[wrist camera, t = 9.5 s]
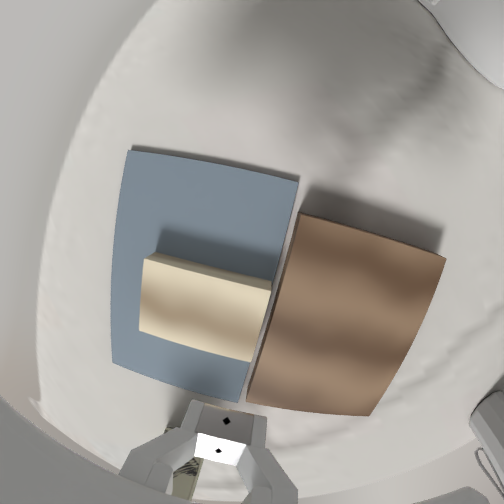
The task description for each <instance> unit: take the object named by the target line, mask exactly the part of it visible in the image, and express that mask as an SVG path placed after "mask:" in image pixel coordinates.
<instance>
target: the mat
mask: <svg viewBox="0 0 504 504" xmlns="http://www.w3.org/2000/svg"><path fill="white" fill-rule="evenodd" d="M298 183H299V182H295V181H291V180H287V179H283V178H279V177H275V176H271V175H267V174H263V173H258V172H254V171H249V170H245V169H240V168H235V167H230V166H226V165H220V164H215V163H210V162H205V161H199V160H193V159H188V158H182V157H175V156H169V155H162V154H155V153H148V152H140V151H132V150H128V152H127V157H126V162H125V167H124V172H123V178H122V183H121V189H120V196H119V202H118V209H117V217H116V225H115V235H114V245H113V258H112V275H111V345H112V362H113V363H115V364H117V365H119V366H122V367H124V368H127V369H129V370H132V371H134V372H137V373H139V374H142V375H145V376H147V377H150V378H153V379H156V380H159V381H162V382H164V383H167V384H171V385H174V386H177V387H180V388H183V389H186V390H190V391H193V392H197V393H200V394H204V395H208V396H211V397H215V398H219V399H223V400H227V401H232V402H236V403H238V400H239V397H240V393H241V390H242V387H243V384H244V380H245V377H246V374H247V371H248V367H249V364H250V362H247V361H242V360H238V359H234V358H230V357H226V356H222V355H218V354H214V353H210V352H207V351H203V350H199V349H196V348H192V347H189V346H185V345H182V344H179V343H175V342H172V341H169V340H166V339H163V338H160V337H157V336H154V335H151V334H148V333H145V332H142V331H139V317H140V299H141V285H142V274H143V263H144V258H146V257H147V256H149V255H151V254H153V253H154V252H158V253H161V254H165V255H169V256H173V257H177V258H180V259H184V260H188V261H192V262H196V263H200V264H204V265H208V266H212V267H216V268H220V269H224V270H228V271H232V272H236V273H240V274H244V275H248V276H252V277H257V278H261V279H265V280H269V281H272V283H271V287H272V284H273V280H274V276H275V273H276V269H277V265H278V261H279V258H280V254H281V250H282V246H283V242H284V239H285V235H286V231H287V227H288V223H289V219H290V215H291V211H292V207H293V203H294V199H295V195H296V191H297V187H298Z"/></svg>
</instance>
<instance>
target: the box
mask: <svg viewBox="0 0 504 504" xmlns="http://www.w3.org/2000/svg"><path fill="white" fill-rule="evenodd" d="M170 430H172V428H166V429H165V432H164V433H166V432H168V431H170ZM203 459H204V458H201V457H197V456H194V458H192V459H191V460H190V461H188V462H187V463H185V464H184V465H183V466H181V467H180V468H178V469H177V470H176V471H174V472H173V491H172V494H171V495H172V496H176V497H179V498H182V499H186V500H189V501H191V500H192V496H193V493H194V490H195V487H196V483H197V480H198V477H199V473H200V470H201V467H202V463H203Z"/></svg>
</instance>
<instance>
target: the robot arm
mask: <svg viewBox="0 0 504 504" xmlns="http://www.w3.org/2000/svg"><path fill="white" fill-rule="evenodd" d="M418 1H419V2H420V3H421V4H422V5H424V6H425V7H426V8H427V9H428V10H429V11H430V12H431V13H432V14H433V15H434V17H435V18H436V20H437V21H438V23H439V24H440V26H441V27H442V29H443V30H444V32H445V33H446V34H447V36H448V37H449V38H450V40H451V41H452V42H453V44H454V45H455V46H456V48H457V49H458V50H459V51H460V52H461V53H462V55H463V56H464V57H465V58H466V59H467V60H468V61H469V62H470V64H471V65H472V66H473V67H474V68H475V69H476V70H477V71H478V72H480V73H481V74H482V75H483V76H484V77H485V78H486V79H488V80H489V81H490V82H491V83H493V84H494V85H496V86H497V87H499V88H501V89H504V0H418ZM266 427H267V417H265V416H259V415H254V414H250V413H245V412H240V411H235V410H231V409H226V408H222V407H218V406H215V405H211V404H208V403H204V402H201V401H198V400H194V399H192V400H191V402H190V404H189V407H188V409H187V412H186V414H185V417H184V419H183V422H182V424H181V427H180V428H178V427H175V428H174V429H172V430H170V431H168V432H166V433H164V434H163V435H161V436H159V437H157V438H155V439H153V440H151V441H149V442H147V443H145V444H143V445H141V446H139V447H137V448H135V449H133V450H131V452H130V453H129V455H128V457H127V459H126V461H125V463H124V465H123V467H122V469H121V470H120V473H119V474H116V473H114V472H111V471H109V470H107V469H105V468H103V467H101V466H99V465H98V464H95V463H93V462H92V461H90V460H88V459H86V458H85V457H83V456H81V455H79V454H78V453H76V452H74V451H73V450H71V449H69V448H68V447H66V446H65V445H63V444H61V443H60V442H59V441H57V440H56V439H54V438H52V437H51V436H50V435H48V434H47V433H46V432H44V431H43V430H41V429H40V428H39V427H37V426H36V425H35V424H33V423H32V422H31V421H30V420H28V419H27V418H26V417H24V416H23V415H22V414H21V413H20V412H18V411H17V410H16V409H15V408H14V407H13V406H11V405H10V404H9V403H8V402H7V401H6V400H5V399H4V398H3V397H1V396H0V504H201V503H197V502H193V501H189V500H186V499H182V498H179V497H176V496H172V495H171V494H172V491H173V472H174V471H176V470H177V469H178V468H180V467H181V466H183V465H184V464H185V463H187V462H188V461H190V460H191V459H192V458H194V456H197V457H201V458H205V459H209V460H213V461H218V462H222V463H226V464H230V465H234V466H236V468H237V470H238V472H239V474H240V476H241V478H242V480H243V482H244V484H245V486H246V488H247V490H248V492H249V494H248V495H247V497H246V498H245V499H244V501H243V502H242V503H241V504H298V489H297V488H296V487H295V485H294V484H293V483H292V481H291V480H290V479H289V477H288V476H287V474H286V473H285V472H284V470H283V469H282V467H281V466H280V465H279V463H278V462H277V460H276V459H275V458H274V456H273V455H272V453H271V452H270V450H269V449H267V448H265V440H266ZM414 504H490V503H489V501H488V499H487V498H486V497H485V496H484V495H482V494H481V493H479V492H478V491H477V490H475V489H473V488H471V487H463V488H460V489H458V490H455V491H452V492H450V493H447V494H444V495H441V496H438V497H435V498H432V499H428V500H425V501H421V502H417V503H414Z"/></svg>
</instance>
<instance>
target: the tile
mask: <svg viewBox="0 0 504 504" xmlns="http://www.w3.org/2000/svg"><path fill="white" fill-rule="evenodd" d="M271 283H272V281H269V280H265V279H261V278H257V277H252V276H248V275H244V274H240V273H236V272H232V271H228V270H224V269H220V268H216V267H212V266H208V265H204V264H200V263H196V262H192V261H188V260H184V259H180V258H177V257H173V256H169V255H165V254H161V253H158V252H154V253H153V254H151V255H149V256H147V257H146V258H144V263H143V274H142V285H141V299H140V317H139V331H142V332H145V333H148V334H151V335H154V336H157V337H160V338H163V339H166V340H169V341H172V342H175V343H179V344H182V345H185V346H189V347H192V348H196V349H199V350H203V351H207V352H210V353H214V354H218V355H222V356H226V357H230V358H234V359H238V360H242V361H247V362H251V361H252V357H253V354H254V351H255V347H256V344H257V340H258V337H259V333H260V330H261V326H262V323H263V319H264V316H265V312H266V309H267V305H268V301H269V298H270V294H271Z"/></svg>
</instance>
